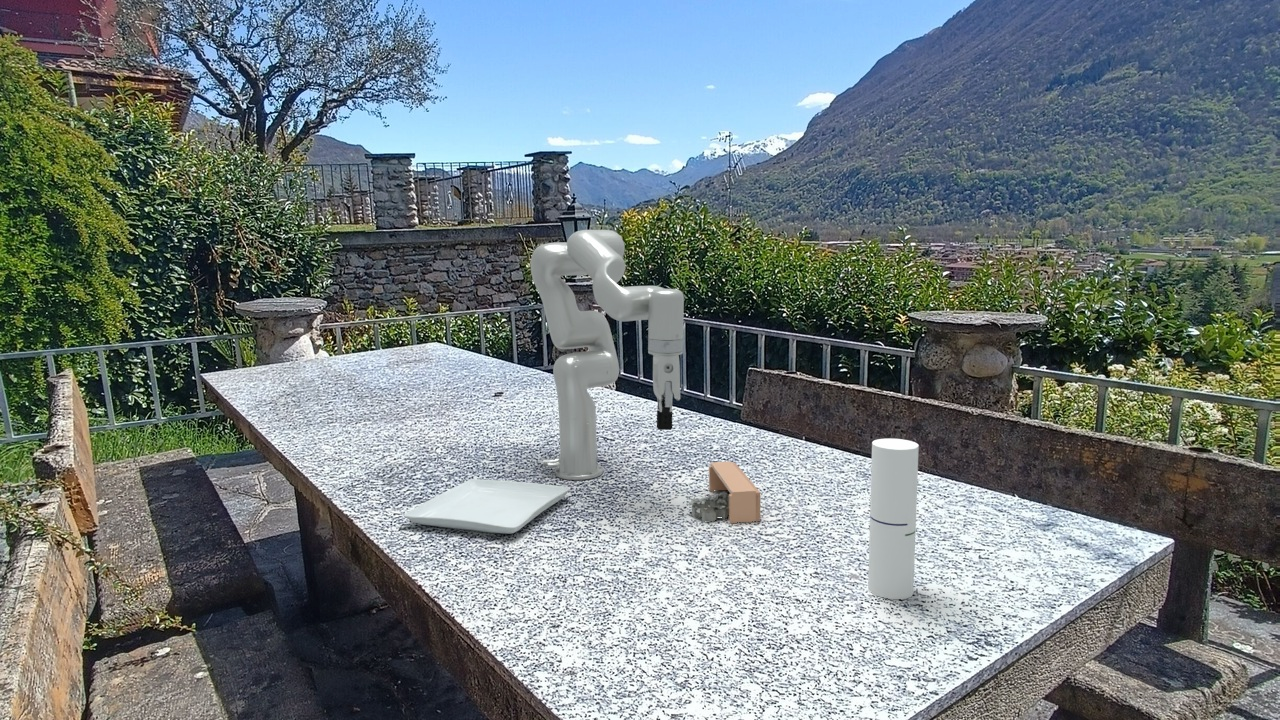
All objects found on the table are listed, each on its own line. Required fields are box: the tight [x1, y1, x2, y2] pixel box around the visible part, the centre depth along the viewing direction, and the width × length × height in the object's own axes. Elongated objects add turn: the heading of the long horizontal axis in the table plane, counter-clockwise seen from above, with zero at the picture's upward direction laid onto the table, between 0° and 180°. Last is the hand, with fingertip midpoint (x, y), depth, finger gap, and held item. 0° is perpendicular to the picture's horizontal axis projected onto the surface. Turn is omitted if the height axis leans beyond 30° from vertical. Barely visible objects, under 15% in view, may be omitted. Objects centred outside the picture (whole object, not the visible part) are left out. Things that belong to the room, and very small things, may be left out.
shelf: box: [708, 461, 761, 524], centre depth 165 cm, size 6×22×7 cm, turn 6°
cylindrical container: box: [867, 438, 920, 600], centre depth 121 cm, size 7×7×25 cm
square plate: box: [402, 478, 571, 535], centre depth 163 cm, size 27×27×4 cm
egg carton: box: [688, 491, 729, 523], centre depth 159 cm, size 11×8×4 cm
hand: (664, 428), depth 162 cm, fingers closed
